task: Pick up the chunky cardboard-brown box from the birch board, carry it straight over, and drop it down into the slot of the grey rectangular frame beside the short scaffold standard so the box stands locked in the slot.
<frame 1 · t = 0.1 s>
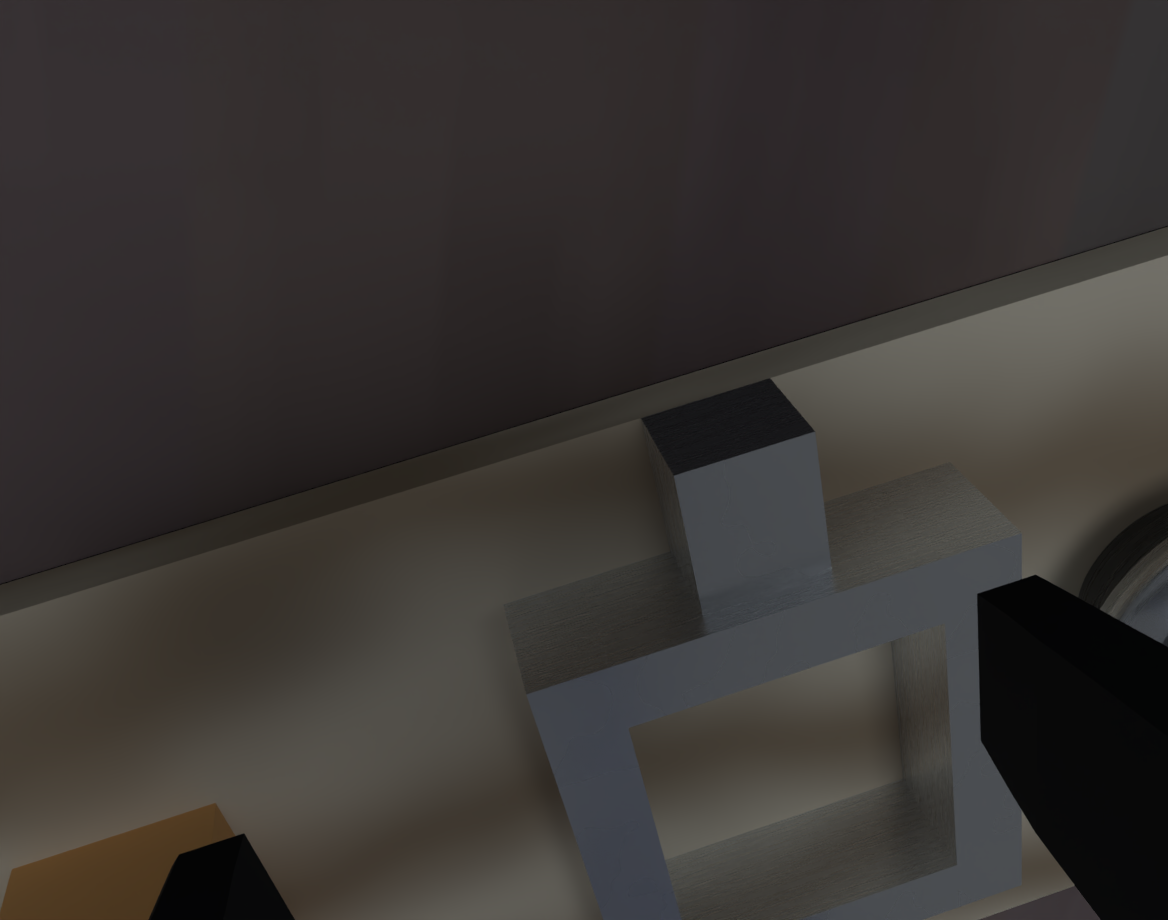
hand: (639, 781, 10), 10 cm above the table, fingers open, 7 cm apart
grey rectangular frame: (763, 714, 23), resting on base board
cardboard-brown box: (168, 913, 22), point 1 cm above the table, touching base board
base board: (669, 743, 25), on the table
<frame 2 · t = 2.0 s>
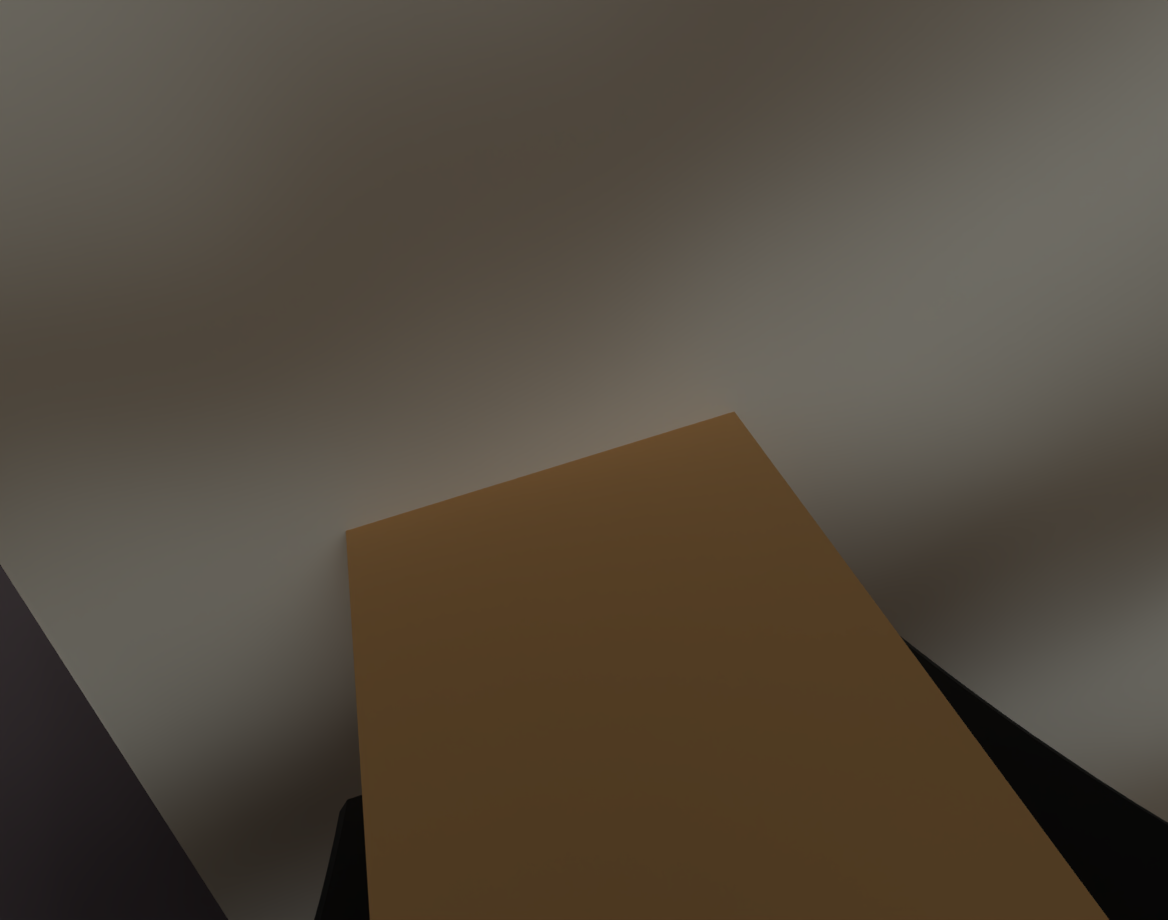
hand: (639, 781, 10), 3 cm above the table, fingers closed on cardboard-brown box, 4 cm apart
cardboard-brown box: (594, 654, 12), point 1 cm above the table, touching base board, gripper
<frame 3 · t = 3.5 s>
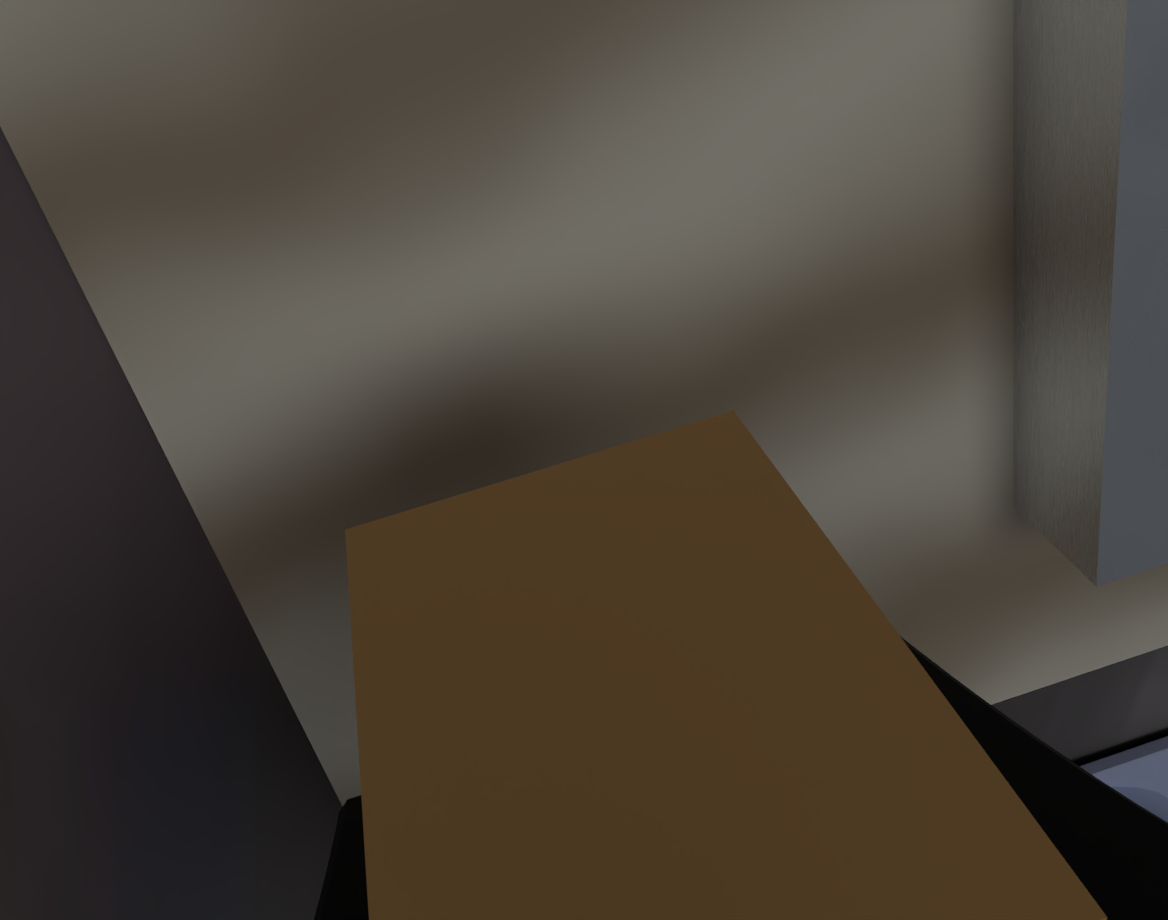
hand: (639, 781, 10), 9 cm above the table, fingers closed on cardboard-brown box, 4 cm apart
cardboard-brown box: (594, 653, 12), point 7 cm above the table, touching gripper
base board: (1113, 253, 19), on the table
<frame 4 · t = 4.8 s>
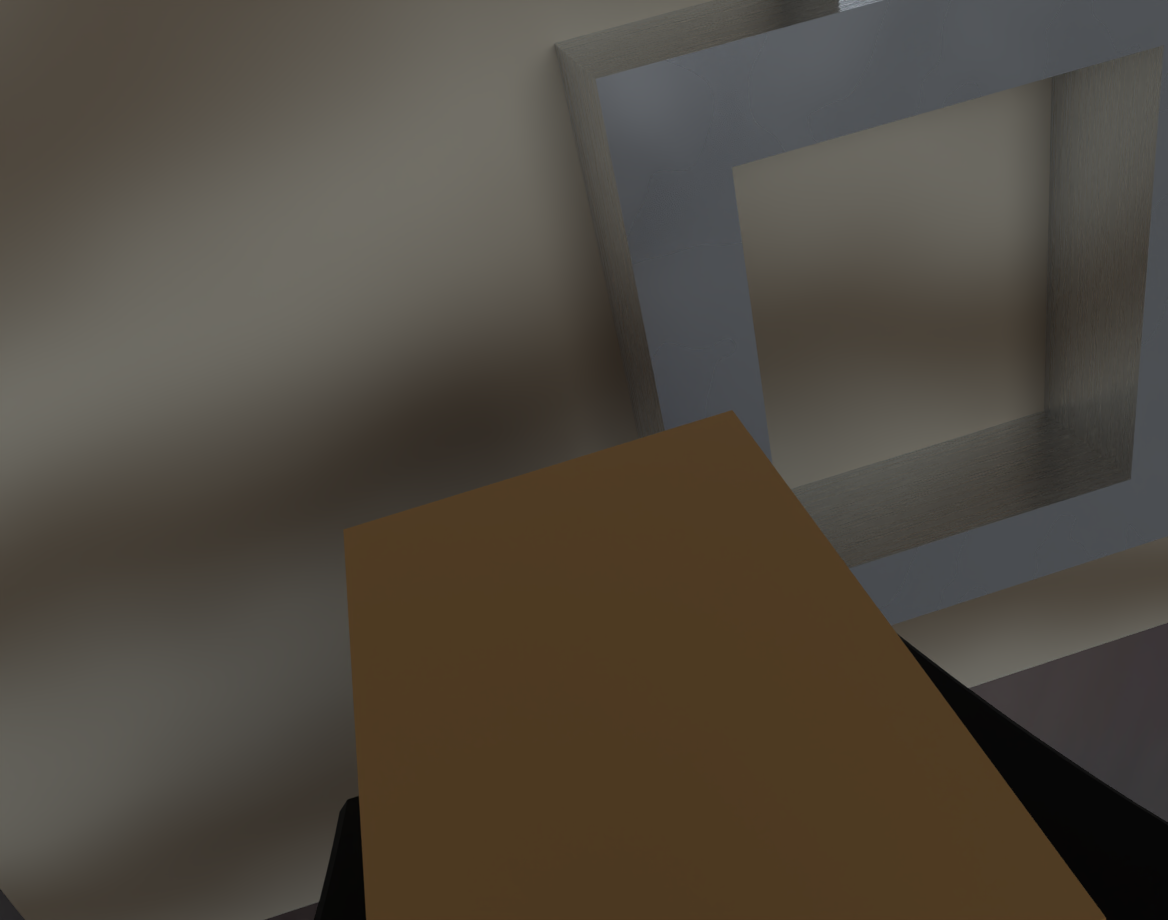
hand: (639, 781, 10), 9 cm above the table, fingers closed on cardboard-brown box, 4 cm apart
grey rectangular frame: (880, 283, 18), resting on base board
cardboard-brown box: (592, 653, 12), point 7 cm above the table, touching gripper
base board: (753, 345, 19), on the table
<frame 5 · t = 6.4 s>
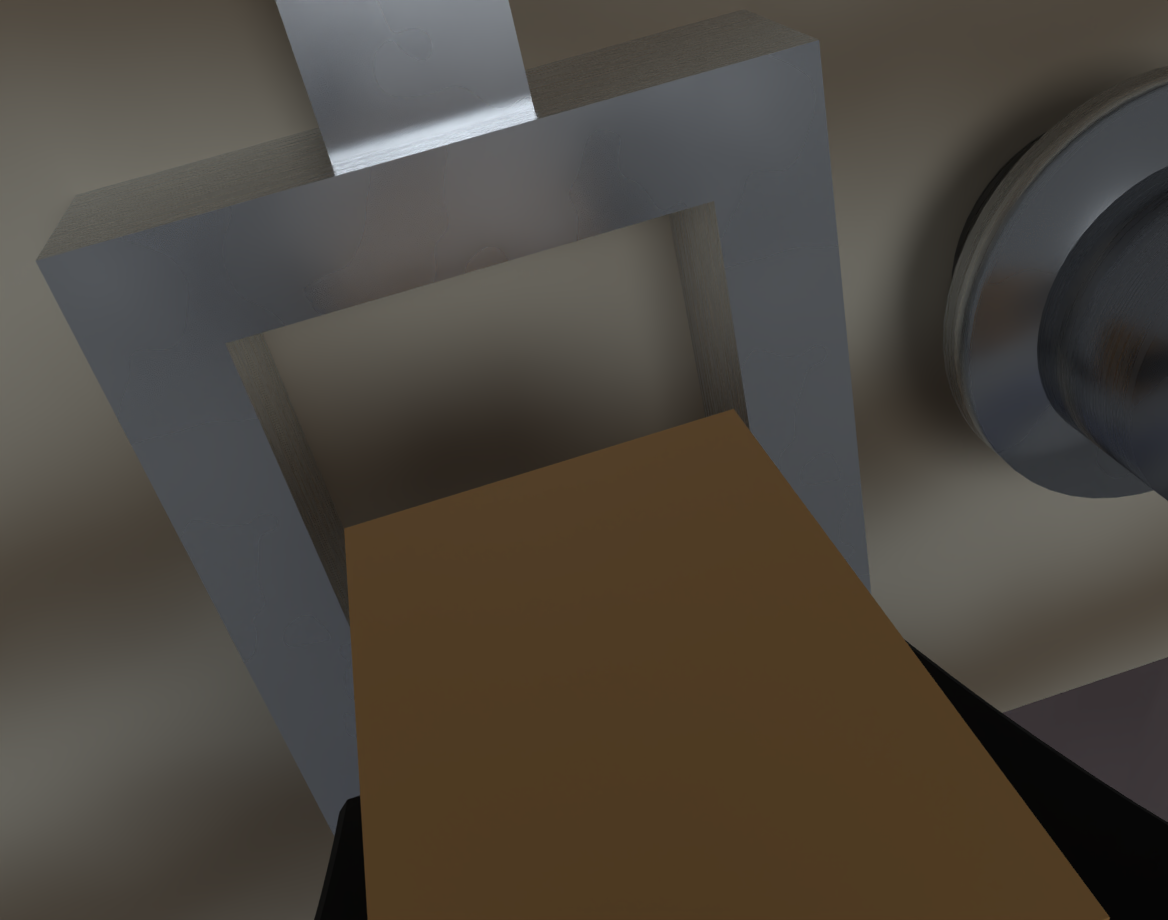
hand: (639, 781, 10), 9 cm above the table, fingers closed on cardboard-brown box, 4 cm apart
grey rectangular frame: (512, 422, 17), resting on base board
cardboard-brown box: (593, 652, 12), point 7 cm above the table, touching gripper
base board: (401, 480, 18), on the table
when the fingers open (4 cm above the table, at t = 7.7 s): cardboard-brown box drops 2 cm, resting on base board.
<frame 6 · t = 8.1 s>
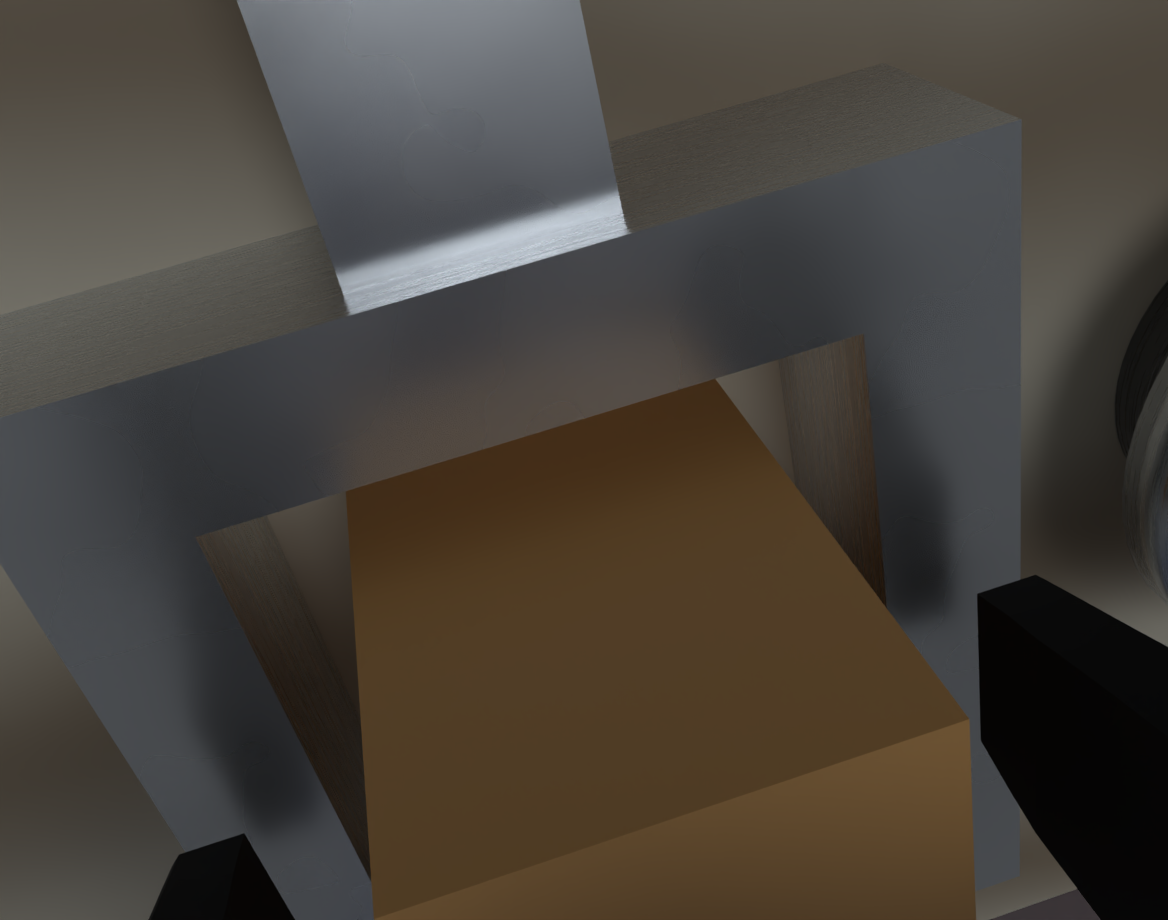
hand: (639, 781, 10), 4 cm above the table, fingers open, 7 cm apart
grey rectangular frame: (567, 575, 13), resting on base board
cardboard-brown box: (569, 573, 13), point 1 cm above the table, touching base board
base board: (425, 634, 15), on the table
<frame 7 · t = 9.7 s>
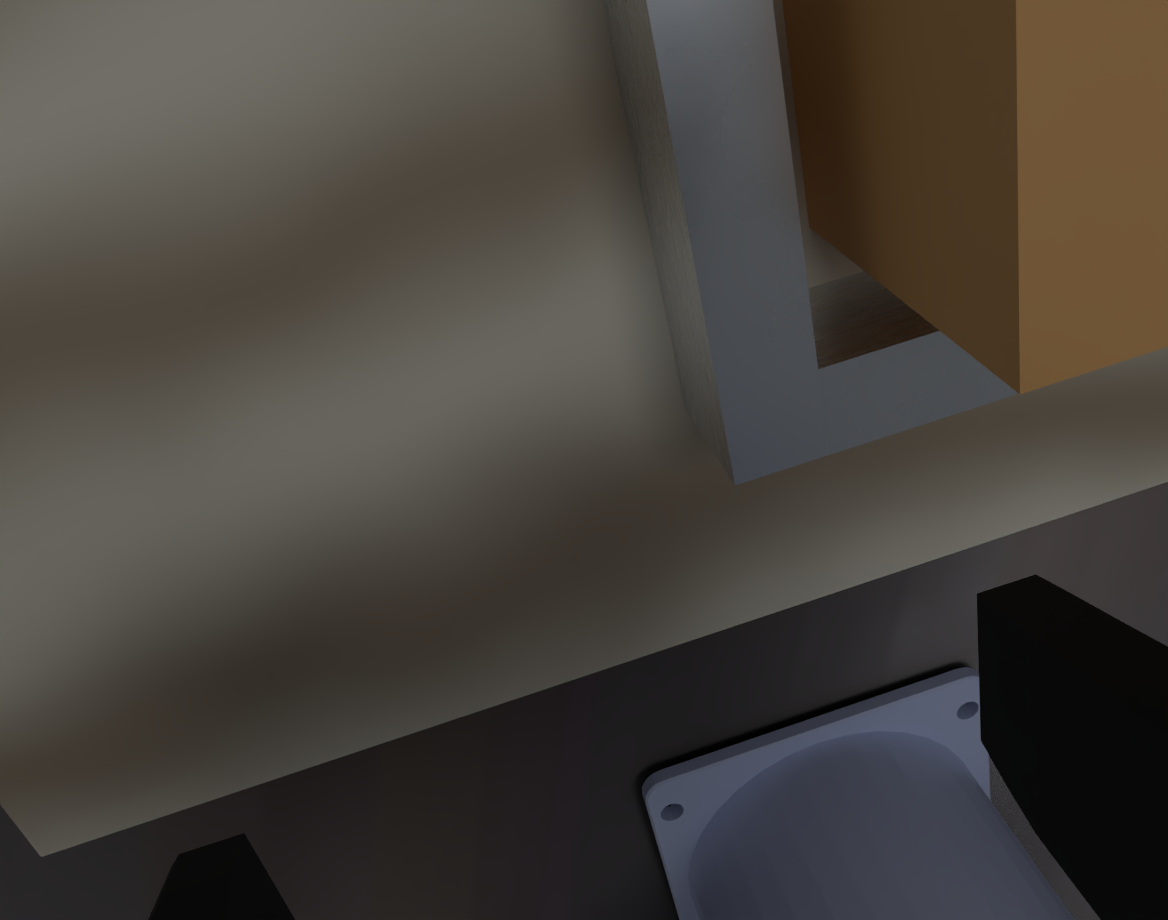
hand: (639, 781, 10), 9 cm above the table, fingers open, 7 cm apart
grey rectangular frame: (915, 32, 16), resting on base board
cardboard-brown box: (917, 29, 16), point 1 cm above the table, touching base board
base board: (772, 121, 17), on the table
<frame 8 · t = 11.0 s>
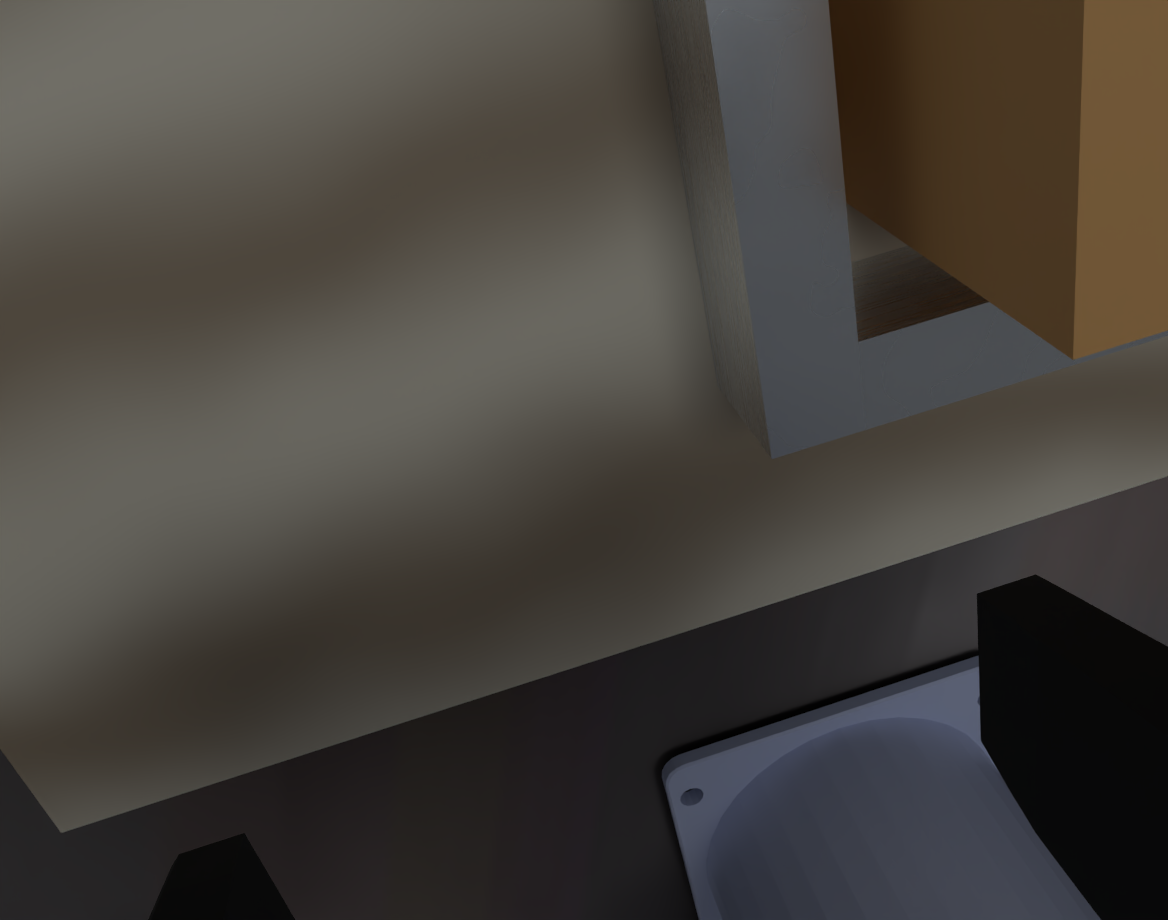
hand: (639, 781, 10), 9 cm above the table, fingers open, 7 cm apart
grey rectangular frame: (957, 6, 16), resting on base board
cardboard-brown box: (959, 3, 16), point 1 cm above the table, touching base board
base board: (809, 96, 17), on the table
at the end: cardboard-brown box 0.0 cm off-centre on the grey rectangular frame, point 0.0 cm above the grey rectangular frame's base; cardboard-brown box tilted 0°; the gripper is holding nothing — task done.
